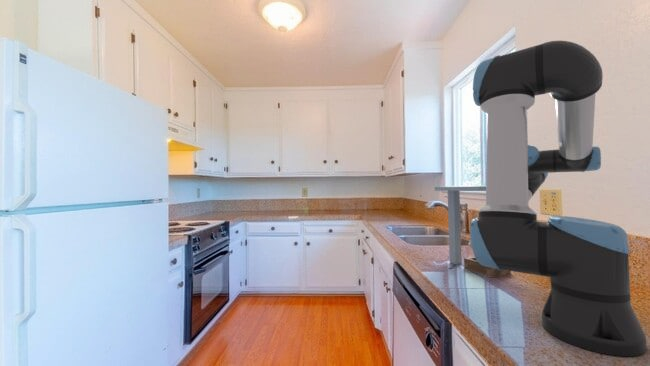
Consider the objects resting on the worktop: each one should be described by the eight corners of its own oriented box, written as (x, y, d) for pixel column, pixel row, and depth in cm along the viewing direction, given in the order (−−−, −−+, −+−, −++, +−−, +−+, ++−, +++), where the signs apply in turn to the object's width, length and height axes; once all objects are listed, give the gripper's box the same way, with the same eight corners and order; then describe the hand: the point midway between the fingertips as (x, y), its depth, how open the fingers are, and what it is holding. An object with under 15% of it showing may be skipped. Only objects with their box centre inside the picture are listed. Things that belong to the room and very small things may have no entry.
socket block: (490, 277, 91) (489, 265, 91) (464, 269, 100) (464, 258, 100) (510, 273, 95) (510, 261, 95) (483, 265, 104) (483, 255, 104)
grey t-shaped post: (481, 279, 90) (478, 186, 90) (437, 264, 107) (434, 186, 107) (506, 274, 94) (503, 185, 94) (460, 260, 112) (457, 186, 112)
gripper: (545, 208, 92) (506, 262, 89) (499, 205, 110) (465, 250, 107) (532, 193, 91) (491, 247, 87) (488, 192, 109) (452, 237, 105)
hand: (477, 248), depth 97 cm, fingers closed on supplement bottle, 5 cm apart
